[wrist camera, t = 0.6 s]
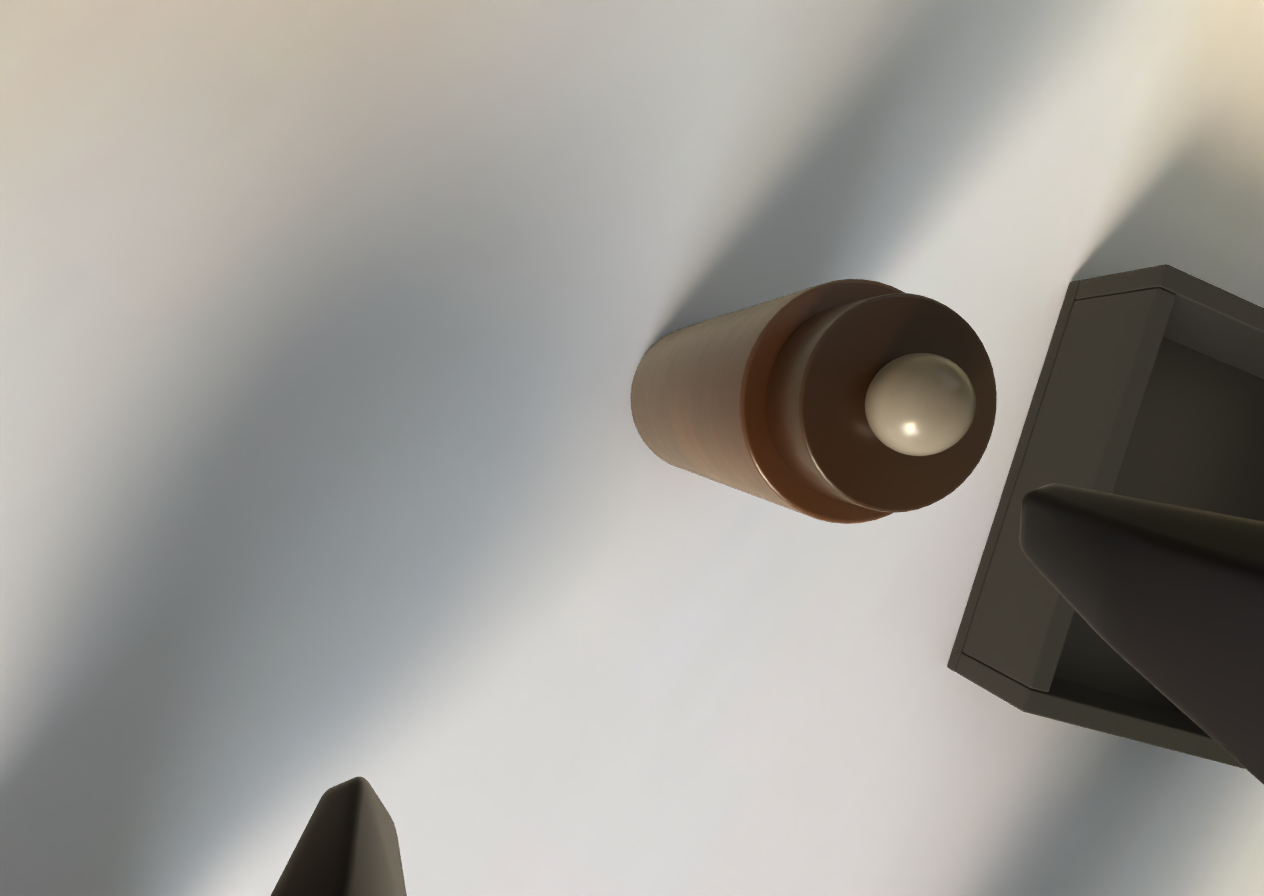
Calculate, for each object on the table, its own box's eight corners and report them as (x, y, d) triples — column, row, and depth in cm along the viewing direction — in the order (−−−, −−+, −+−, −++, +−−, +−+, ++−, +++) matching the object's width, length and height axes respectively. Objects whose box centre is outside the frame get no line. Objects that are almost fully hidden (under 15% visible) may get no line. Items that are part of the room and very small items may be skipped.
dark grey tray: (1210, 737, 31) (1316, 787, 27) (946, 667, 28) (1023, 712, 24) (1322, 390, 31) (1445, 390, 27) (1069, 281, 28) (1166, 263, 24)
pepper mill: (743, 487, 25) (1029, 589, 12) (611, 446, 24) (769, 510, 11) (786, 353, 25) (1118, 310, 12) (655, 305, 24) (866, 202, 11)
